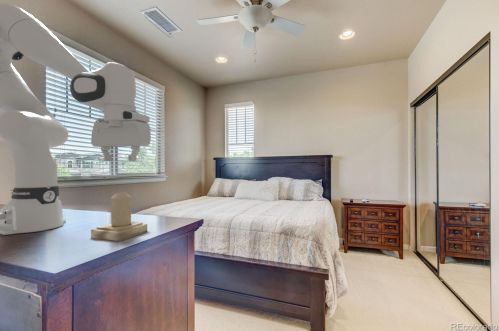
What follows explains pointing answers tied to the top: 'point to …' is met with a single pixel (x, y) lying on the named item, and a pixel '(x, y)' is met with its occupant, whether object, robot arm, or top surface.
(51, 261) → the top surface
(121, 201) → the candle
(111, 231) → the stand
